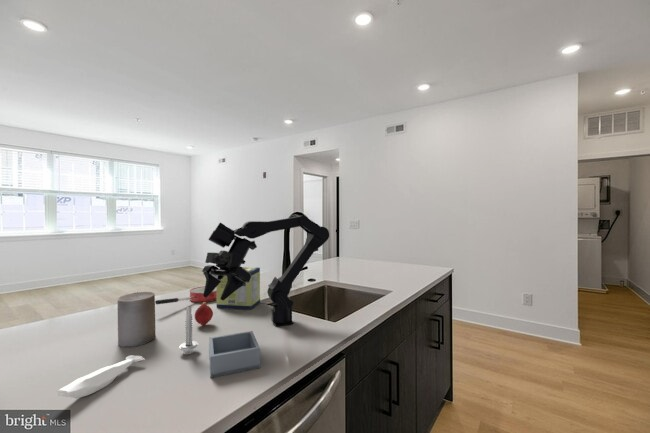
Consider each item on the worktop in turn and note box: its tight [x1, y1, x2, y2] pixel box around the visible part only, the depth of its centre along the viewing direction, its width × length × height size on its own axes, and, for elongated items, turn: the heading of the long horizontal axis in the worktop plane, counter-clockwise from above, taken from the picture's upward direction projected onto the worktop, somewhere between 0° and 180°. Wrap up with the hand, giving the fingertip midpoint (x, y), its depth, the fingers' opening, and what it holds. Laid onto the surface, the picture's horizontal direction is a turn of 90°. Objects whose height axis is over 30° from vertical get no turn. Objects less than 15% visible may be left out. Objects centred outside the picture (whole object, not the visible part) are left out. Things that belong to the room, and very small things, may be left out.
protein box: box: [216, 266, 261, 311], centre depth 123 cm, size 10×16×16 cm
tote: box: [208, 330, 261, 379], centre depth 76 cm, size 12×12×5 cm
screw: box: [178, 306, 199, 356], centre depth 80 cm, size 13×5×5 cm
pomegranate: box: [194, 302, 214, 327], centre depth 100 cm, size 6×6×8 cm
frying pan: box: [155, 285, 217, 305], centre depth 124 cm, size 32×13×6 cm, turn 167°
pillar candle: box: [116, 291, 156, 348], centre depth 88 cm, size 10×10×15 cm
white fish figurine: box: [56, 354, 146, 399], centre depth 65 cm, size 6×18×4 cm, turn 170°
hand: (212, 298), depth 88 cm, fingers open, 9 cm apart
